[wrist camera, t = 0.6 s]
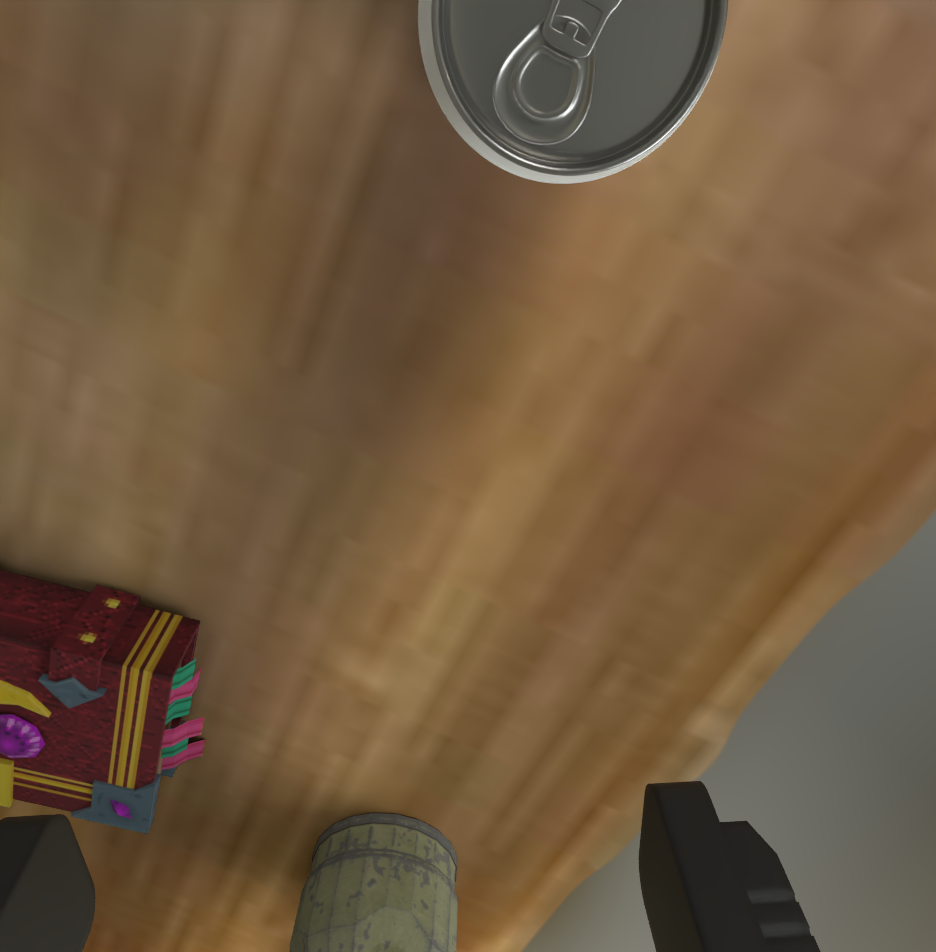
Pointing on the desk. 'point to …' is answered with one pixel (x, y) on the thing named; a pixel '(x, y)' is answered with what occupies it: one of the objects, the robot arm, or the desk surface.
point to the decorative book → (92, 700)
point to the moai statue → (379, 889)
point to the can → (568, 78)
